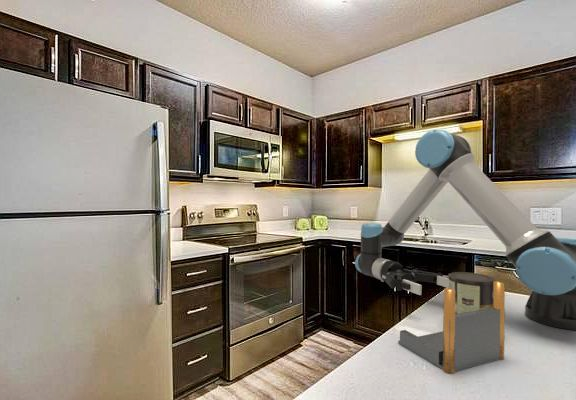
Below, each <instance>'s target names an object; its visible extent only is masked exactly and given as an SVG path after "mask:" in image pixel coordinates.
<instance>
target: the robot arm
mask: <svg viewBox="0 0 576 400" xmlns="http://www.w3.org/2000/svg"><path fill="white" fill-rule="evenodd" d="M414 153H415V154H414V156H415V158H416V160H417V162H418V163H419V164H420V165H421V166H423V167H424V168H426V169H428V170H427V172H426V173H425V175H424V176H423V177H422V178H421V179H420V181H419V182H418V183H417V185H416V186H415V187H414V188H413V189H412V191H411V192H410V193H409V194H408V196H407V197H406V198H405V200H404V201H403V203H402V204H401V205H400V206H399V208H397V210H396V212H394V213H393V215H392V217H391V218H390V219H389V220H388V222H387V223H386V224H385V225H384V226H382V225H383V224H381V223H378V222H377V223H376V222H366V223H365V222H364V223H363V224H361V226H360V227H361V228H360V253H359V254H358V255H357V256H356V259H355V260H354V265H355V268H356V269H357V271H358V272H359V273H361V274H363V275H365V276H370V277H372V278H375V279H377V280H380V282H383V283H384V282H385V283H386V284H387V285H388V287H390V288H391V289H396V288H397V289H396V290H397V291H398V292H402V290H405V291H407V292H410V293H412V294H416V295H419V296H422V295H423V294H422V290H423V289H422V288H423V287H422V286H423V285H422V284H419V283H417V282H421V283H422V282H424V283H433V284H436V285H438V286H441V287H444V288H449V277H447V276H446V277H445V276H444V274H443V273H441V272H438V273H435V272H429V271H423V270H419V269H415V268H413V269H412V270H410V269H408V268H404V267H403V265H402V264H401V263H400V262H397V261H393V260H390V259H386V258H383V257H382V252H383V251H382V249H383V248H385V247H390V246H391V247H393V246H396V245H399V244H402V242H403V241H404V238H405V233H406V232H407V231H408V230H409V229H410V227H412V225H413V224H414V223H415V222H416V221H417V220H418V218H419V217H420V216H421V215H422V214H423V212H424V211H425V210H426V209H427V208H428V207H429V205H430V204H431V203H432V202H433V200H434V199H435V198H436V197H437V196H438V194H439V193H440V192H441V191H442V190H443V189H444V187H445V186H446V185H447V184H449V185H451V187H452V188H453V189H454V190H455V191H456V192H457V193H458V194H459V196H460V197H461V198H462V199H463V200H464V201H465V202H466V204H468V206H469V207H470V208H471V209H472V210H473V212H474V213H475V214H476V215H477V216H478V217H479V219H481V220H482V222H483V223H484V224H485V225H486V226H487V227H488V228H489V230H490V231H492V233H493V235H495V236H496V238H497V239H498V240H499V241H500V242H501V243H502V244H503V245H504V246H505V256H506V258H507V259H508V261H510V262H511V264H512V265H513V266H514V267H515V272H516V274H517V278H518V279H519V280H520V282H521V283H522V284H523V285H524V286H525V287H526V288H528V289H529V290H530V291H531V292H530V294H529V297H528V298H527V301H526V303H525V307H524V315H525V316H526V317H527V318H528V319H531V320H532V321H535V322H537V323H540V324H542V325H546V326H549V327H553V328H558V329H564V330H570V331H576V238H568V237H567V238H565V237H556V236H555V235H554V234H552V232H551V231H549V230H548V229H541V228H537V227H536V225H534V224H533V222H532V221H531V220H530V219H529V218H528V217H527V216H526V215H525V214H524V213H523V212H522V211H521V210H520V209H519V208H518V207H517V206H516V205H515V204H514V203H513V202H512V200H511V199H509V198H508V197H507V196H506V194H504V193H503V191H501V189H500V188H499V187H498V186H497V185H496V184H495V183H494V182H493V181H492V180H491V179H490V178H489V177H488V176H487V175H486V174H485V173H484V171H482V170H481V168H479V167H478V165H476V164H475V163H474V160H475V154H474V153H473V152H472V148H471V145H470V143H469V142H468V140H467V139H466V138H464V137H463V136H460V135H457V134H453V133H451V132H450V131H448V130H445V129H431V130H430V131H426V132H425V133H424V134H423V135H421V137H420V138H419V140H418V141H417V143H416V146H415V150H414Z"/></svg>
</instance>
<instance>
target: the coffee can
mask: <svg viewBox="0 0 576 400" xmlns="http://www.w3.org/2000/svg"><path fill="white" fill-rule="evenodd" d="M447 276H448V277H447V278H449V288H451V289H455V314H458V313H464V312H469V311H474V310H480V309H485V308H491V307H493V282H494V281H496V278H494V277H492V276H491V275H490V276H489V275H487V274H482V273H476V272H467V271H466V272H465V271H457V272H454V271H453V272H451V273H448V275H447Z"/></svg>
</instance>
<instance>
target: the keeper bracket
mask: <svg viewBox="0 0 576 400" xmlns="http://www.w3.org/2000/svg"><path fill="white" fill-rule="evenodd" d="M505 285H506V284H505V282H504V281H498V280H495V281H494V282H493V307H491V308H485V309H480V310H474V311H469V312H464V313H458V314H455V289H451V288H447V287H444V289H443V317H442V318H443V320H442V321H443V322H442V323H443V324H442V325H443V326H442V327H443V331H437V332H433V333H428V334H424V335H419V336H417V335H415V334H414V333H412V332H410V331H408V330H406V329H403V330H402V329H401V330H399V340H398V344H399V345H401V346H402V347H404V348H406V349H407V350H408V351H411V352H412V353H414V354H416V355H417V356H419V357H421V358H422V359H424V360H426V361H427V362H429V363H431V364H432V365H434V366H436V367H438V368H439V369H441V370H443V372H444V373H446V374H452V375H453V374H455V373H457V372H460V371H464V370H467V369H471V368H474V367H477V366H481V365H485V364H489V363H491V362H495V361H499V360H501V361H502V360H504V359H505V324H506V323H505V314H506V311H505V310H506V309H505V308H506V307H505V301H506V299H505V298H506V296H505V293H506V292H505V290H506V289H505Z"/></svg>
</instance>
